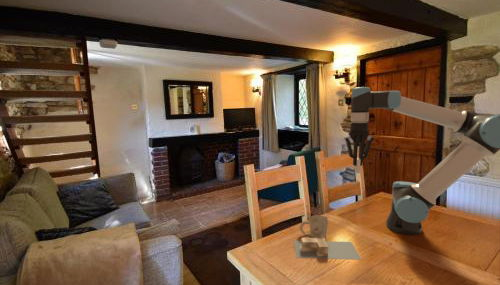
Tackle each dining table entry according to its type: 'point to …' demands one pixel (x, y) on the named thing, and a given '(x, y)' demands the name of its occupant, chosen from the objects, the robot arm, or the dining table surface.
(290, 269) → the dining table surface
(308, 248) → the t block
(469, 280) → the dining table surface
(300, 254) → the board
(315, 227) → the mug
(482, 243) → the dining table surface
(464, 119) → the robot arm
